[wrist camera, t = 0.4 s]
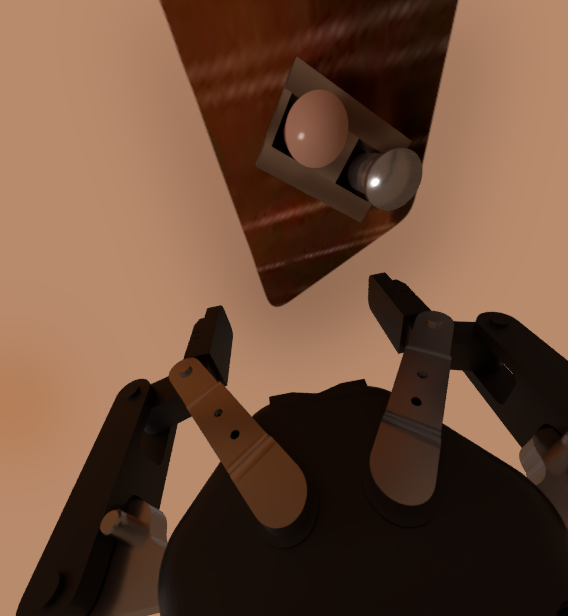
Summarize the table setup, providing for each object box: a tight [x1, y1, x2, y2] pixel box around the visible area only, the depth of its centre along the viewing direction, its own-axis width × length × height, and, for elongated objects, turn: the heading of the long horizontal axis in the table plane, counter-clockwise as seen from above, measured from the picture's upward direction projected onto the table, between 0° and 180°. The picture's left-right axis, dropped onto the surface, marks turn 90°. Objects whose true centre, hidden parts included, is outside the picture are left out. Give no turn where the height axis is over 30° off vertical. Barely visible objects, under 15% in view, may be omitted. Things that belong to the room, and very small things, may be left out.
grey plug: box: [348, 148, 422, 210], centre depth 26 cm, size 5×5×8 cm
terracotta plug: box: [284, 90, 348, 168], centre depth 23 cm, size 5×5×8 cm
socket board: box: [256, 57, 412, 222], centre depth 30 cm, size 10×15×5 cm, turn 64°
